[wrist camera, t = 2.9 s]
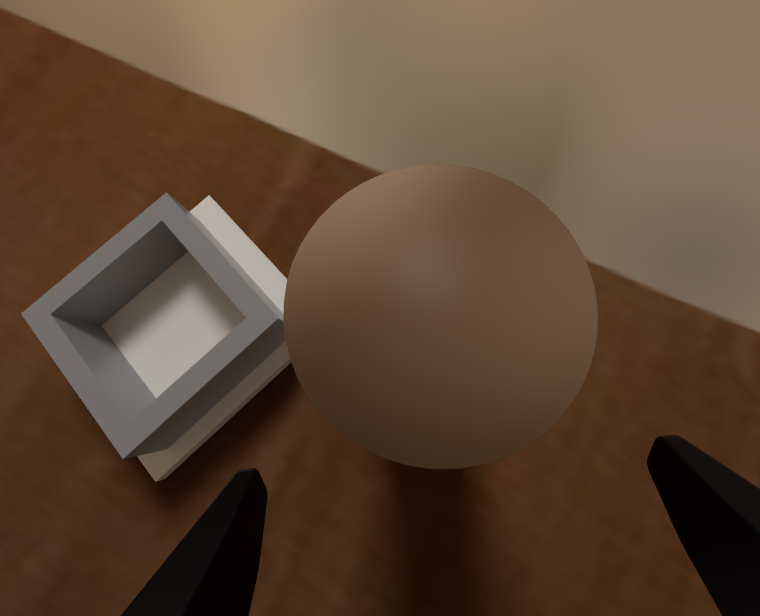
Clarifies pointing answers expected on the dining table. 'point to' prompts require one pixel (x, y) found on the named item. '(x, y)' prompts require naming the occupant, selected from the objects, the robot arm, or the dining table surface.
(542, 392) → the maple knob
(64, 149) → the dining table surface
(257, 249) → the plate
